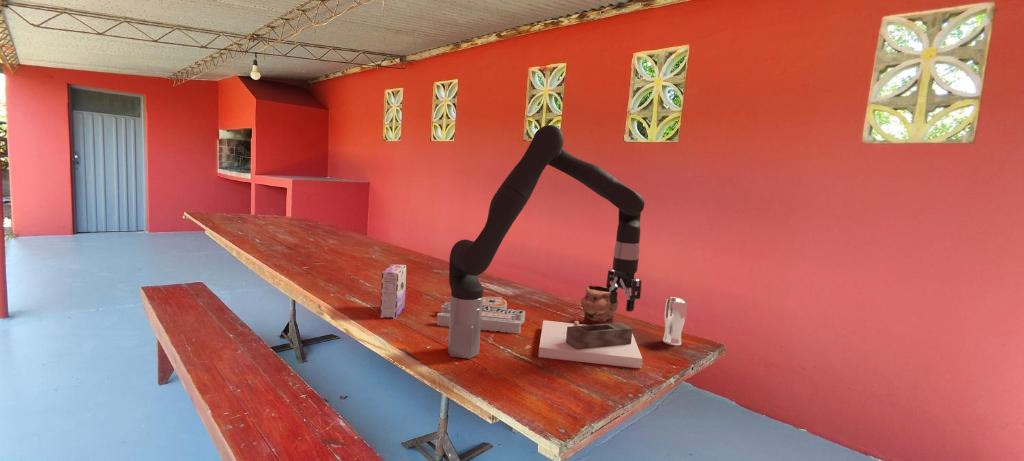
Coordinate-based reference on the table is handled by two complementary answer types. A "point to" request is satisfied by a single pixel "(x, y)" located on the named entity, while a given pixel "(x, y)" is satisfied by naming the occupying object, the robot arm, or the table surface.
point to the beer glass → (674, 320)
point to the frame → (598, 335)
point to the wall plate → (559, 349)
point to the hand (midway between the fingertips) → (621, 307)
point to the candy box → (393, 291)
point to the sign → (491, 316)
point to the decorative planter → (598, 306)
